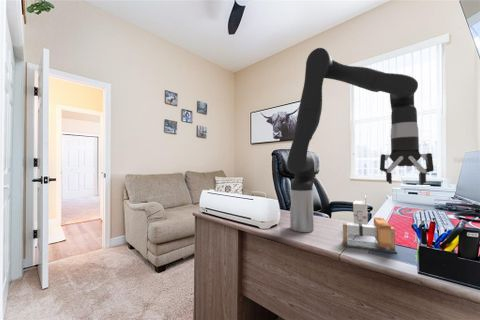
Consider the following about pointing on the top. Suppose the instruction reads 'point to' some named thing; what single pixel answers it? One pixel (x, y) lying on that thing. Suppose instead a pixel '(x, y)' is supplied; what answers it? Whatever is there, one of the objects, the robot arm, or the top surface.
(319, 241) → the top surface
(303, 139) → the robot arm
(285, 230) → the top surface
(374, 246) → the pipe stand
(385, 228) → the tan cardboard carton
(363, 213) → the ink cartridge box
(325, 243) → the top surface
